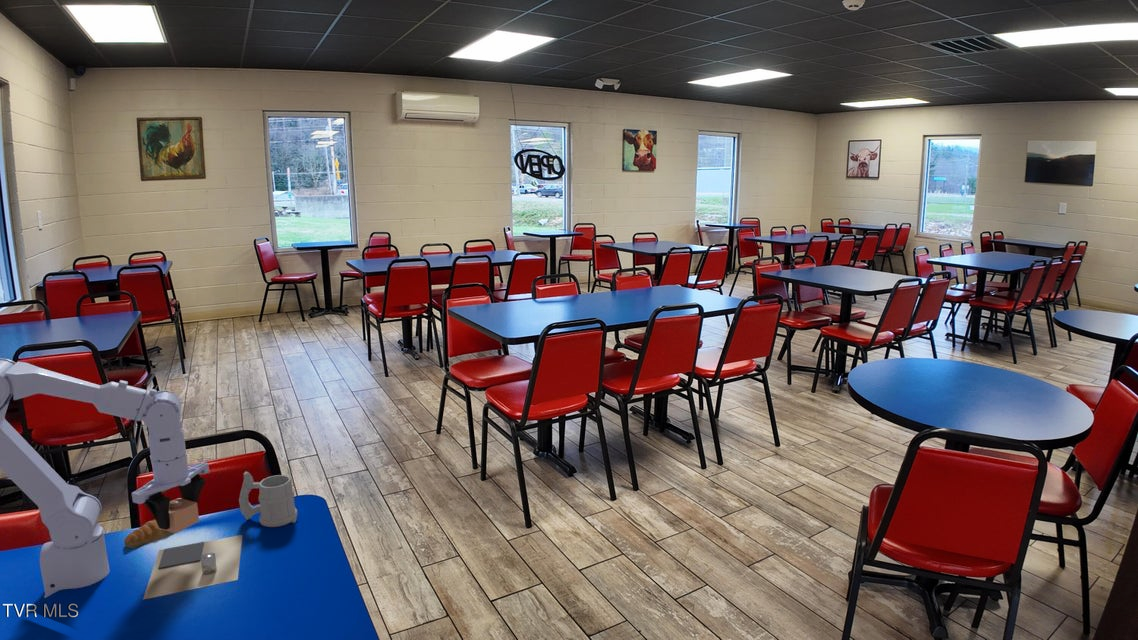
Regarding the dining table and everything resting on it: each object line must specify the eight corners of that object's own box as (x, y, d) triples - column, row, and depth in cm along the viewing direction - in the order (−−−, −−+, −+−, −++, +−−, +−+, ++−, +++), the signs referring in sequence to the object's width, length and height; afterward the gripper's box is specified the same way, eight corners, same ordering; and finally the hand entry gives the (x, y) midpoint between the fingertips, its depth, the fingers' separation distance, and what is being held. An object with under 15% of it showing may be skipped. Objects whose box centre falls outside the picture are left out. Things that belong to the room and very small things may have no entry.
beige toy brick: (176, 533, 125) (172, 510, 124) (157, 528, 127) (154, 505, 126) (199, 521, 130) (196, 498, 129) (181, 516, 131) (178, 494, 130)
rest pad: (158, 569, 125) (158, 567, 125) (164, 550, 132) (164, 549, 131) (200, 561, 128) (200, 559, 128) (204, 543, 134) (204, 541, 134)
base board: (143, 604, 117) (142, 599, 116) (159, 554, 132) (159, 550, 132) (238, 584, 122) (237, 579, 122) (242, 539, 138) (242, 534, 137)
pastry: (132, 555, 132) (130, 537, 131) (119, 544, 136) (116, 527, 135) (182, 535, 139) (180, 518, 139) (168, 525, 143) (165, 509, 142)
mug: (291, 531, 141) (286, 479, 138) (234, 533, 140) (228, 480, 137) (303, 513, 148) (298, 463, 146) (248, 515, 147) (243, 465, 145)
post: (201, 576, 123) (199, 560, 122) (203, 569, 125) (201, 554, 125) (216, 573, 124) (214, 557, 123) (217, 566, 126) (215, 551, 125)
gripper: (147, 474, 117) (157, 544, 120) (217, 444, 130) (224, 507, 133) (120, 468, 120) (130, 536, 123) (191, 439, 133) (199, 501, 136)
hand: (177, 521), depth 128 cm, fingers closed on beige toy brick, 5 cm apart
